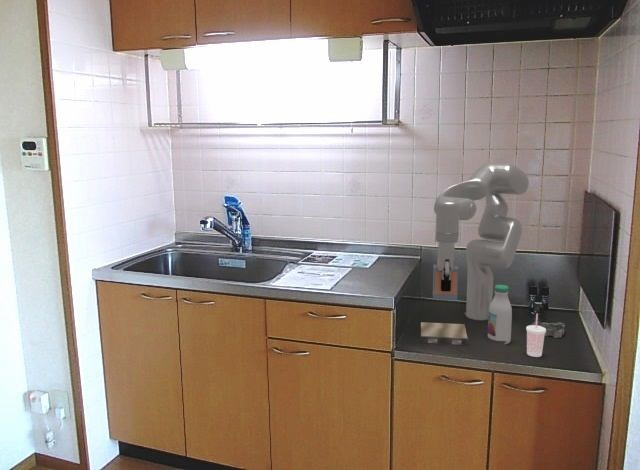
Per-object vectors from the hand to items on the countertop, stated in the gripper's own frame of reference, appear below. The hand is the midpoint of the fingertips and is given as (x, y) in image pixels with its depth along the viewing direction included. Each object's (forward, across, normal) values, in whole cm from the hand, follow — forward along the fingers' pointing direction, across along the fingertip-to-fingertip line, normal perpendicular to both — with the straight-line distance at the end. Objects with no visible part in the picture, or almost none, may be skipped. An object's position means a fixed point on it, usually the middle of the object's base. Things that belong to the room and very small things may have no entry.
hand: (445, 288), depth 192 cm
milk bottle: (+20, -3, +19) cm, 28 cm away
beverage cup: (+20, +7, +29) cm, 36 cm away
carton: (+3, 0, 0) cm, 3 cm away
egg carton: (+20, -13, +38) cm, 45 cm away
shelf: (+20, -5, 0) cm, 20 cm away
